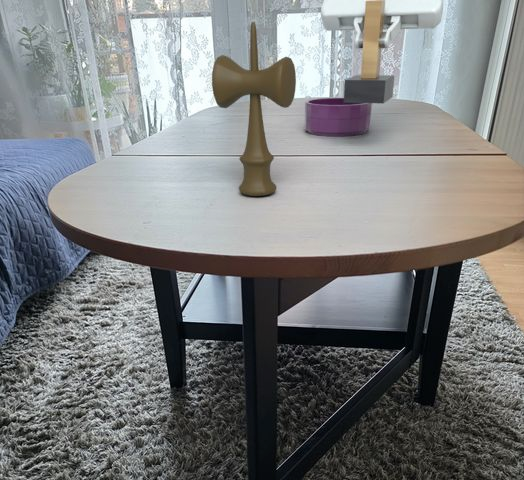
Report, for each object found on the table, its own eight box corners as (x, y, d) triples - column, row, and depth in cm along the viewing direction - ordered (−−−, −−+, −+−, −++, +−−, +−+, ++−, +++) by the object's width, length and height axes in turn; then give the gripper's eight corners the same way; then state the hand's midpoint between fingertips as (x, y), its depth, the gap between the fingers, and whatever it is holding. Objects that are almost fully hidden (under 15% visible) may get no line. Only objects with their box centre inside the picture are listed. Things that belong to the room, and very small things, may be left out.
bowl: (361, 125, 119) (363, 96, 115) (376, 135, 107) (379, 104, 103) (300, 127, 118) (301, 98, 115) (309, 138, 106) (310, 106, 103)
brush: (354, 96, 93) (360, 1, 85) (392, 97, 91) (401, -1, 83) (343, 102, 88) (348, 1, 80) (383, 103, 86) (392, -1, 78)
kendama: (235, 185, 74) (226, 23, 63) (297, 190, 71) (300, 20, 60) (216, 196, 69) (204, 22, 59) (283, 202, 66) (282, 20, 56)
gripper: (452, -10, 86) (435, 60, 84) (336, -4, 93) (317, 60, 91) (454, -46, 80) (436, 28, 78) (330, -37, 87) (310, 31, 85)
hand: (371, 45), depth 84 cm, fingers closed on brush, 2 cm apart
